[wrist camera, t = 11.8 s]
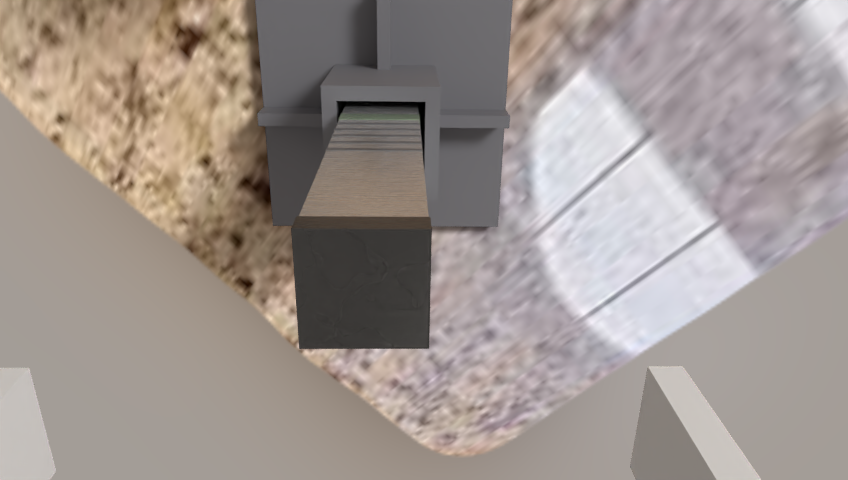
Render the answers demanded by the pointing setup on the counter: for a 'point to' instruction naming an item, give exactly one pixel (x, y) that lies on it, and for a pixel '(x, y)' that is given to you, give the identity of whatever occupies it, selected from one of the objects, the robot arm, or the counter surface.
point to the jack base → (388, 92)
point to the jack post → (366, 235)
